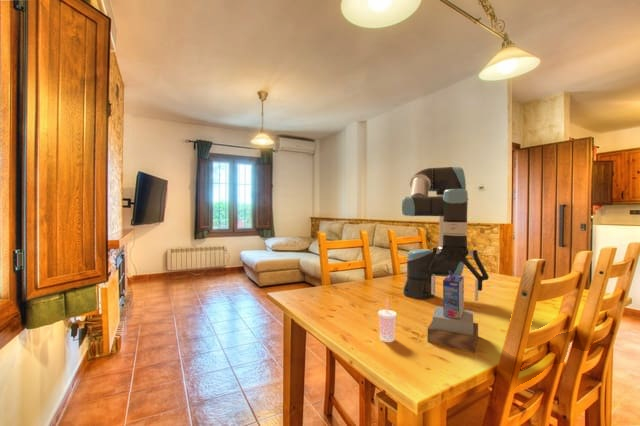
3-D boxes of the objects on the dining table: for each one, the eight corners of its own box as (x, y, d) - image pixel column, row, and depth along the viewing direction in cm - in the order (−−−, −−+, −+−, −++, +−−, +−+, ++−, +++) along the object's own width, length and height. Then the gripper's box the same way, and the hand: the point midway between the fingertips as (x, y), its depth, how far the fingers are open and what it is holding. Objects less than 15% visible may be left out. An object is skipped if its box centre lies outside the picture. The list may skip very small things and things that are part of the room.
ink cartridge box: (447, 307, 107) (448, 267, 107) (464, 310, 104) (465, 269, 104) (441, 316, 99) (442, 272, 98) (460, 319, 96) (461, 275, 95)
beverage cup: (391, 344, 96) (391, 301, 96) (374, 339, 100) (374, 298, 100) (399, 338, 101) (399, 297, 100) (383, 333, 105) (383, 294, 104)
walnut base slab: (427, 343, 98) (427, 328, 98) (435, 328, 110) (435, 315, 110) (474, 354, 91) (475, 338, 91) (478, 337, 103) (478, 323, 103)
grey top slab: (432, 328, 98) (432, 316, 98) (436, 316, 109) (436, 306, 109) (473, 335, 93) (473, 323, 93) (472, 322, 104) (472, 311, 103)
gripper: (414, 233, 104) (414, 293, 104) (497, 237, 91) (496, 306, 91) (420, 232, 110) (419, 288, 111) (497, 235, 97) (496, 299, 97)
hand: (454, 296), depth 101 cm, fingers open, 13 cm apart
